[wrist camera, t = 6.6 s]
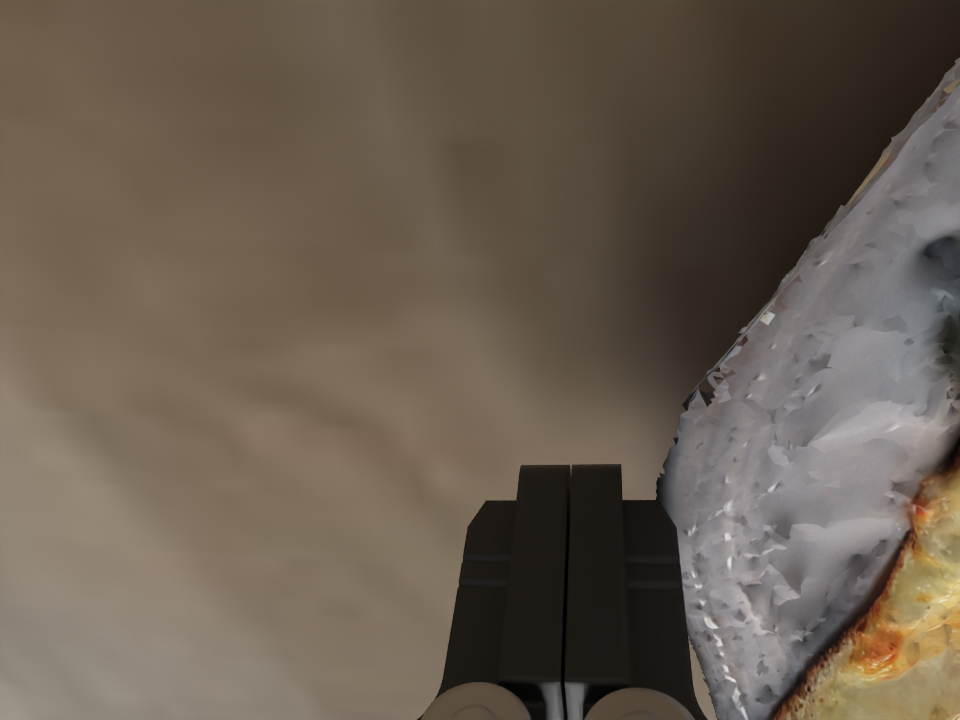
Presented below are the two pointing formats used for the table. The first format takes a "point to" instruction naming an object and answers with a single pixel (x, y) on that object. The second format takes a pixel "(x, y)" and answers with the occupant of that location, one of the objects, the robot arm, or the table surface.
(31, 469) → the table surface
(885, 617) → the food plate
